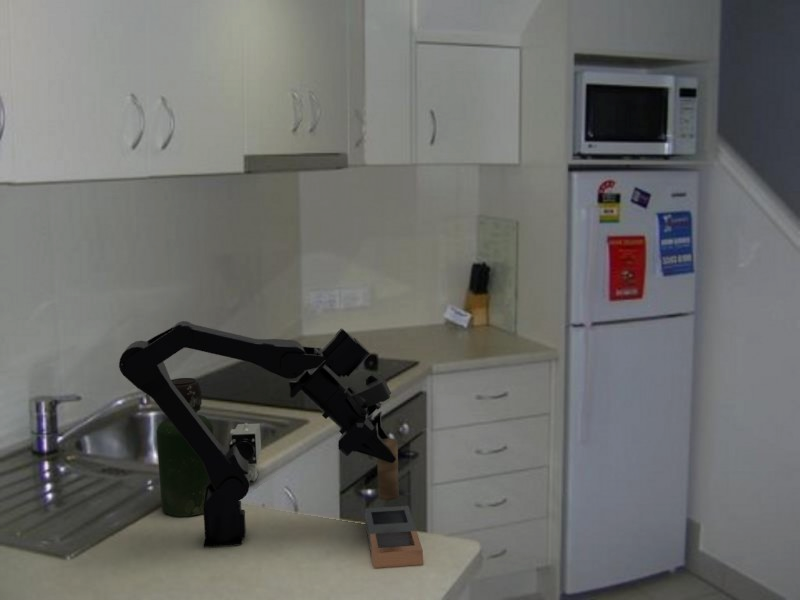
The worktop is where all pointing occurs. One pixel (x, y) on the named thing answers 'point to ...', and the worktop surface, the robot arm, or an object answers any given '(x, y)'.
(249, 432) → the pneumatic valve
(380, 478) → the walnut peg
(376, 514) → the grey copper flat frame
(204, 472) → the spray bottle
